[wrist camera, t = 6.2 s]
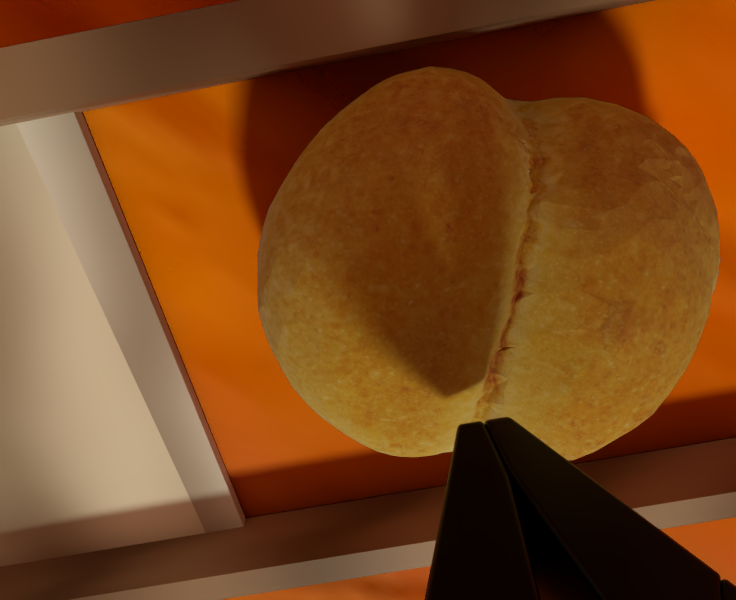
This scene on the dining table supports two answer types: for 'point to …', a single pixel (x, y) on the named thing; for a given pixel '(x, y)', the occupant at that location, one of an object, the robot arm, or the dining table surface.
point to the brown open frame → (158, 350)
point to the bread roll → (486, 266)
